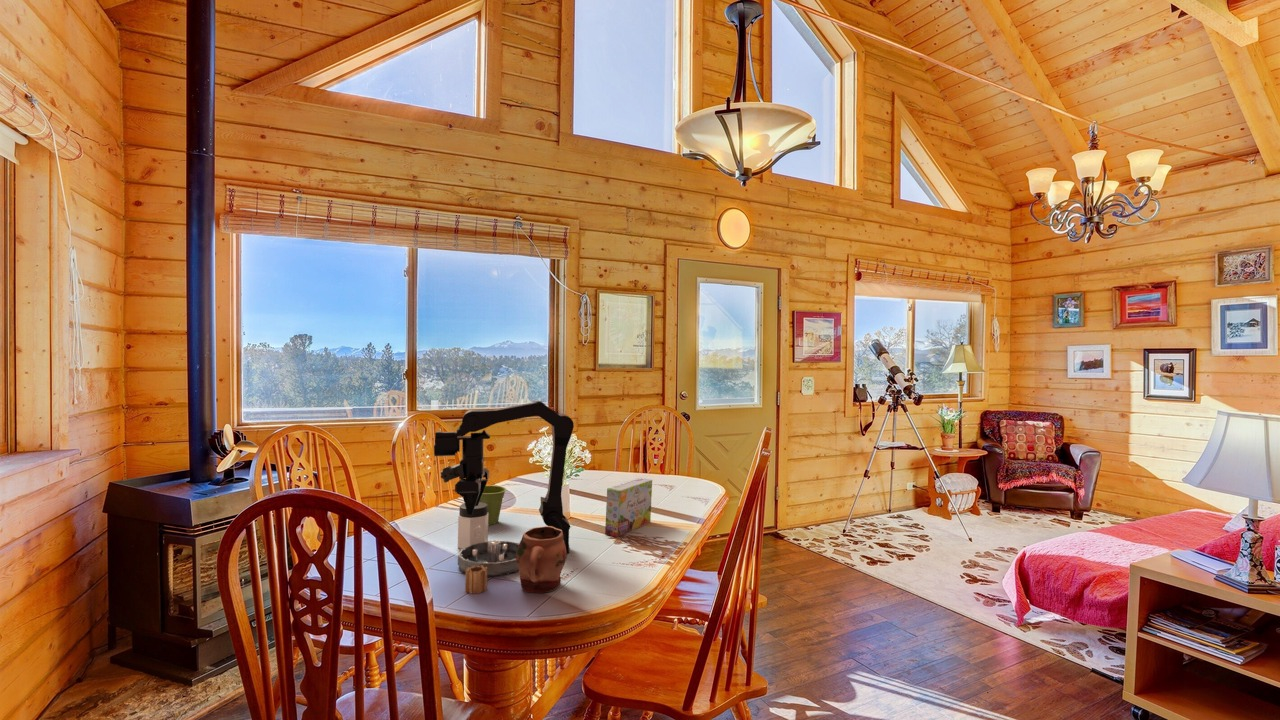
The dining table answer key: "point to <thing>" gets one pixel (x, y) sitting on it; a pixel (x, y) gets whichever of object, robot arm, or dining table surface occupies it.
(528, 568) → the terracotta mug
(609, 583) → the dining table surface
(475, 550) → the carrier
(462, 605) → the dining table surface
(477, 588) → the bronze pinion
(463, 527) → the jar
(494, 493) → the plant pot
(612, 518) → the snack box
